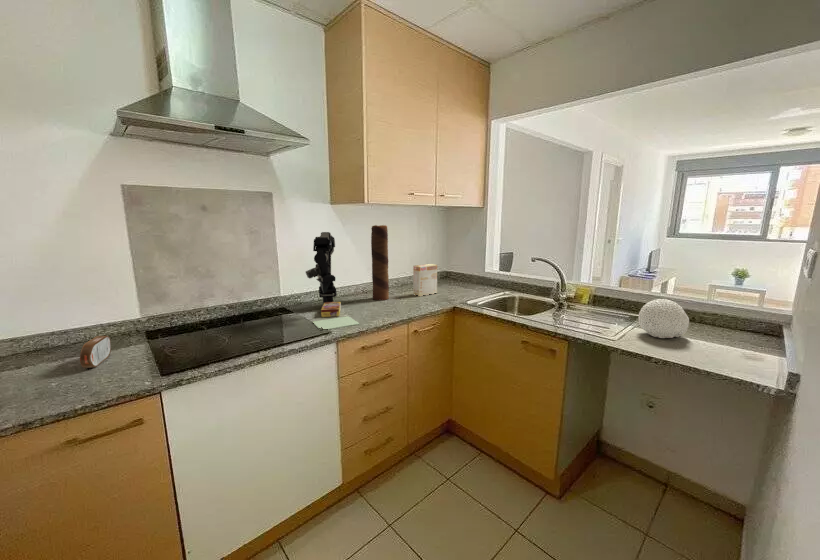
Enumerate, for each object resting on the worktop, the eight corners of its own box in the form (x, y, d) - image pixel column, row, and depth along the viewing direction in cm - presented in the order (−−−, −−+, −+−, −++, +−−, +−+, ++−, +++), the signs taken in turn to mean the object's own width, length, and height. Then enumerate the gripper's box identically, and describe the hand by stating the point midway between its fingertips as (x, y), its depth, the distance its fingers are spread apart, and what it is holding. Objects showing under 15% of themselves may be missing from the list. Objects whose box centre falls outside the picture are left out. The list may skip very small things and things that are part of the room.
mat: (312, 322, 154) (312, 321, 154) (348, 316, 163) (348, 316, 163) (321, 330, 143) (321, 330, 142) (359, 324, 152) (359, 323, 152)
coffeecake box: (430, 292, 222) (431, 263, 219) (437, 294, 216) (437, 264, 213) (412, 294, 214) (412, 265, 210) (419, 296, 208) (419, 266, 204)
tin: (103, 355, 116) (99, 332, 115) (114, 353, 117) (111, 331, 116) (80, 373, 102) (76, 347, 101) (93, 371, 104) (89, 346, 102)
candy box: (320, 308, 162) (324, 302, 177) (321, 317, 163) (324, 309, 177) (339, 308, 163) (340, 301, 178) (339, 316, 164) (341, 309, 179)
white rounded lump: (687, 327, 122) (672, 288, 130) (635, 337, 134) (624, 301, 142) (702, 340, 133) (687, 304, 141) (653, 349, 145) (642, 315, 153)
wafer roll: (375, 301, 195) (374, 225, 187) (370, 297, 204) (368, 225, 196) (391, 300, 199) (391, 225, 191) (385, 296, 208) (385, 225, 201)
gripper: (301, 261, 166) (303, 291, 168) (311, 265, 150) (313, 298, 153) (323, 260, 171) (324, 289, 174) (335, 263, 156) (336, 295, 158)
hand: (324, 293), depth 165 cm, fingers closed
